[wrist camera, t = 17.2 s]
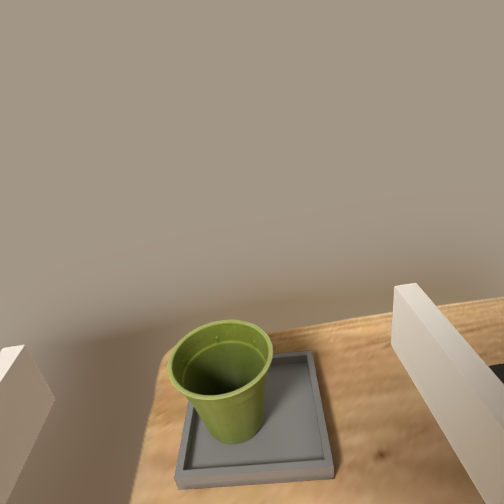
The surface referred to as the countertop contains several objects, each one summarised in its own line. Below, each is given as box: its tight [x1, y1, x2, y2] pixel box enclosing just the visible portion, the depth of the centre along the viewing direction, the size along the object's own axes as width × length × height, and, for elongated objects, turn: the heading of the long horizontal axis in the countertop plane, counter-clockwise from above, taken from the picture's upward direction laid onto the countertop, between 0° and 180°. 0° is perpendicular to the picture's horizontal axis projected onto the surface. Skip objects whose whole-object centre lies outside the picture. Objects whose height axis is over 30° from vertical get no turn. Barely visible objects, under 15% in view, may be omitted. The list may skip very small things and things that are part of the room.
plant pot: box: [167, 320, 273, 444], centre depth 44 cm, size 12×12×11 cm
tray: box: [174, 350, 334, 490], centre depth 47 cm, size 17×17×2 cm
